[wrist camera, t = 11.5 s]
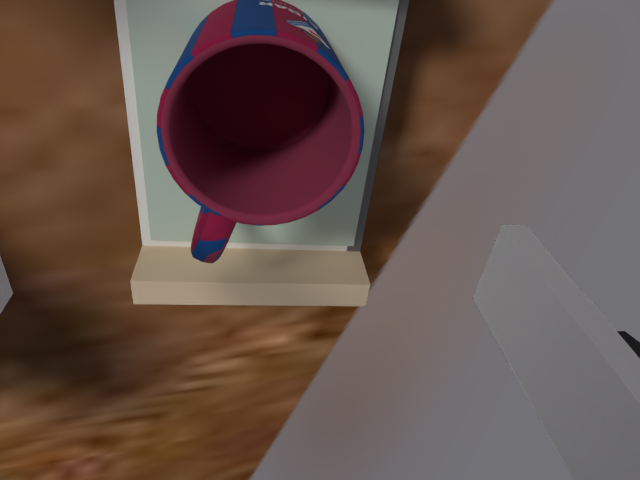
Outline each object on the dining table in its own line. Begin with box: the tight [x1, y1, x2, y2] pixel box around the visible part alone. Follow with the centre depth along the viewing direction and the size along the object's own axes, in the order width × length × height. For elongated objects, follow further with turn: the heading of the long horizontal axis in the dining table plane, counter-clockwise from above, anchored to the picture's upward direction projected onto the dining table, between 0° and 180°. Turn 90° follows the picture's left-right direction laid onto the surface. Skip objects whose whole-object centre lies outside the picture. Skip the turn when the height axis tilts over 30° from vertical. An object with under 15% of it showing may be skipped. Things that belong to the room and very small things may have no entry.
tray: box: [114, 0, 409, 306], centre depth 21 cm, size 22×12×6 cm, turn 174°
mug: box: [157, 0, 364, 264], centre depth 19 cm, size 7×10×7 cm
